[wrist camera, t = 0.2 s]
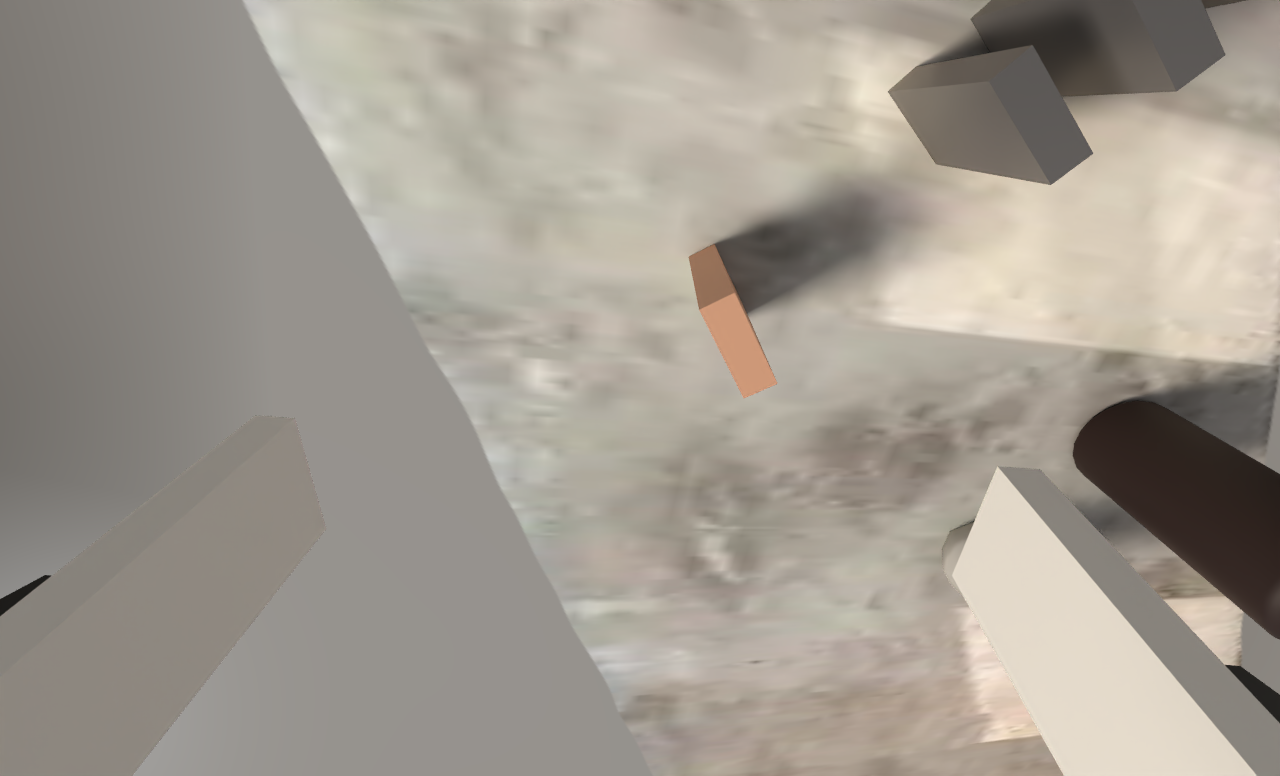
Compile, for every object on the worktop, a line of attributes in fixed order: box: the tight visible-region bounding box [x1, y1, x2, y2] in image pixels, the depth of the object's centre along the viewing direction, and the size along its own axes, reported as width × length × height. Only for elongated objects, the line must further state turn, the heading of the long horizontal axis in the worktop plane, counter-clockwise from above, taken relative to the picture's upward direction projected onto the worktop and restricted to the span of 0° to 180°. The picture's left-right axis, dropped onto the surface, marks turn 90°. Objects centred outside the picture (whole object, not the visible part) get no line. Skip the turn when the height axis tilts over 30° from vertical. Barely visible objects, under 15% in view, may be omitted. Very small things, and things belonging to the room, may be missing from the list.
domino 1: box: [888, 45, 1093, 185], centre depth 28 cm, size 2×5×11 cm, turn 43°
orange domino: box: [689, 244, 777, 398], centre depth 32 cm, size 2×5×11 cm, turn 28°
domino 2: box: [971, 0, 1225, 96], centre depth 26 cm, size 2×5×11 cm, turn 43°
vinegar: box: [1073, 401, 1280, 639], centre depth 32 cm, size 7×7×20 cm
